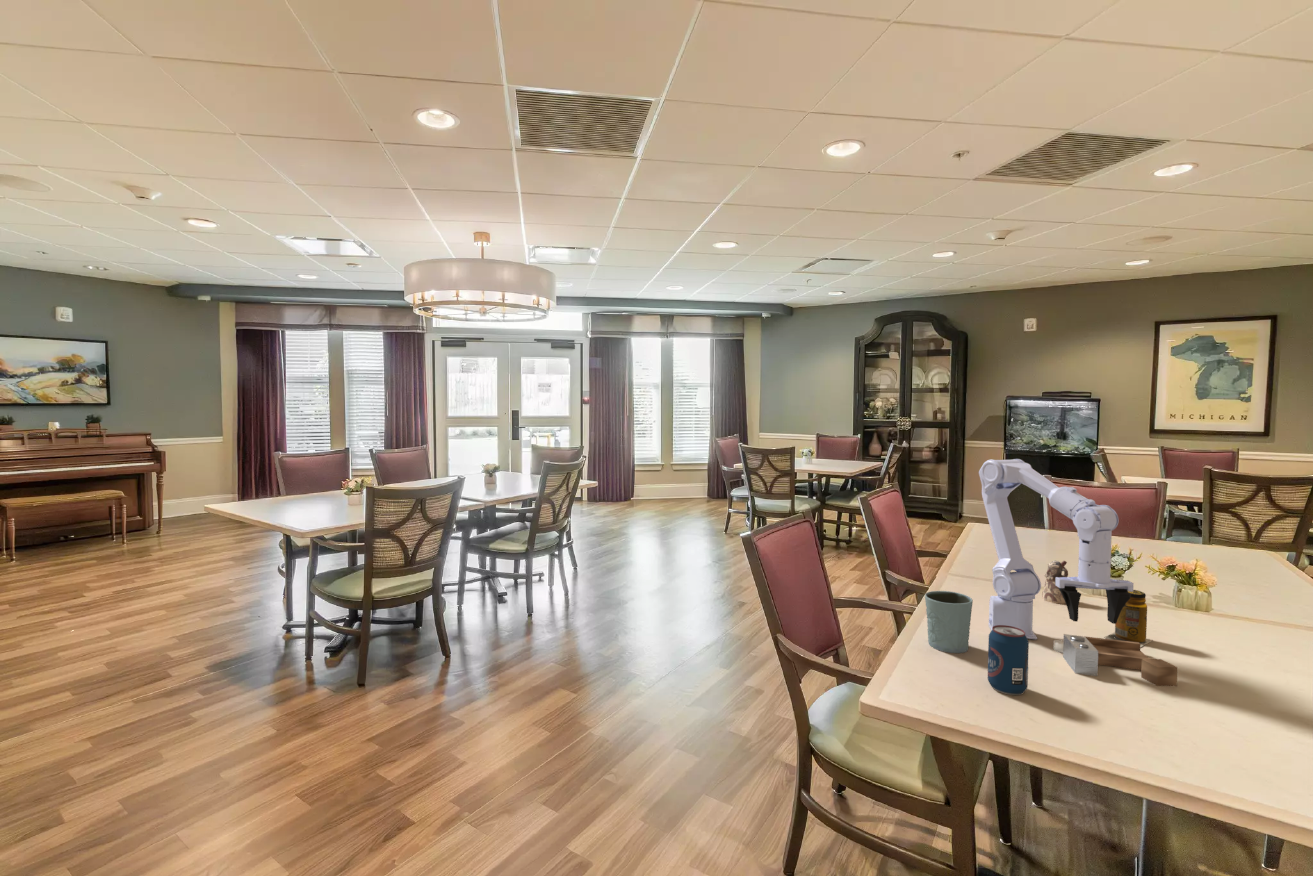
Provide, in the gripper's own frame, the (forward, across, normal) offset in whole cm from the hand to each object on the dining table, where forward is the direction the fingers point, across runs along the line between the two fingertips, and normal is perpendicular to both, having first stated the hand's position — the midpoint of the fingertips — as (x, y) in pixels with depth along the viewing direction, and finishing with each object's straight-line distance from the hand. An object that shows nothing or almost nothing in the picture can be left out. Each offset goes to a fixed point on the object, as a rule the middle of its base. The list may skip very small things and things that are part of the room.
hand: (1092, 621), depth 131 cm
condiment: (+10, +16, +18) cm, 26 cm away
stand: (+10, +7, +4) cm, 12 cm away
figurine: (+10, +14, +49) cm, 51 cm away
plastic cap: (+10, -3, +7) cm, 12 cm away
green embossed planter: (+10, -29, +4) cm, 31 cm away
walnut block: (+10, +9, -7) cm, 15 cm away
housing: (+10, -3, -2) cm, 11 cm away
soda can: (+10, -23, -17) cm, 30 cm away
